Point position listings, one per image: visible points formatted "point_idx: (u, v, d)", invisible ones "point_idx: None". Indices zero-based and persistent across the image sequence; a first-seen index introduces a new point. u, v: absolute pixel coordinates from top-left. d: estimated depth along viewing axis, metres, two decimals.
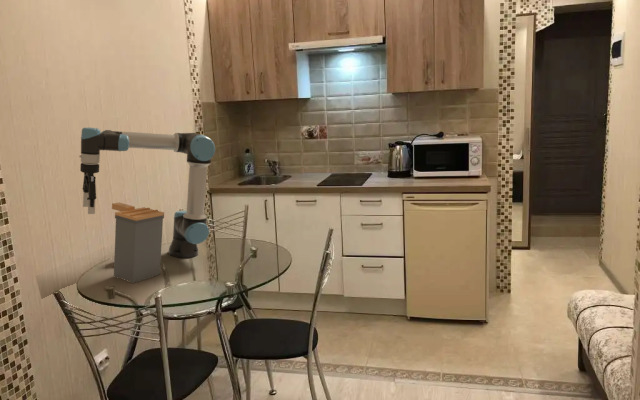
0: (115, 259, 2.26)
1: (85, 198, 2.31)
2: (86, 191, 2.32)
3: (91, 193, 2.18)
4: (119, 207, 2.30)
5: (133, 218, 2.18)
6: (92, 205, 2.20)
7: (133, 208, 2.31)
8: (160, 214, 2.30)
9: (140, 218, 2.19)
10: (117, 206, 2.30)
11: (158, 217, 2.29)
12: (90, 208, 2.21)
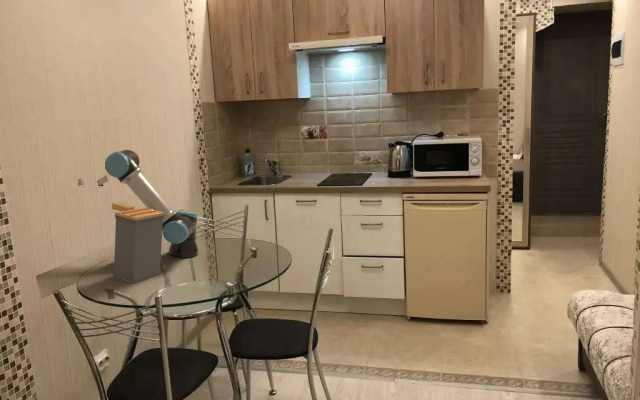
0: (115, 259, 2.26)
1: (101, 182, 2.45)
2: (98, 183, 2.47)
3: None
4: (119, 207, 2.30)
5: (133, 218, 2.18)
6: None
7: (133, 208, 2.31)
8: (160, 214, 2.30)
9: (140, 218, 2.19)
10: (117, 206, 2.30)
11: (158, 217, 2.29)
12: (78, 183, 2.32)
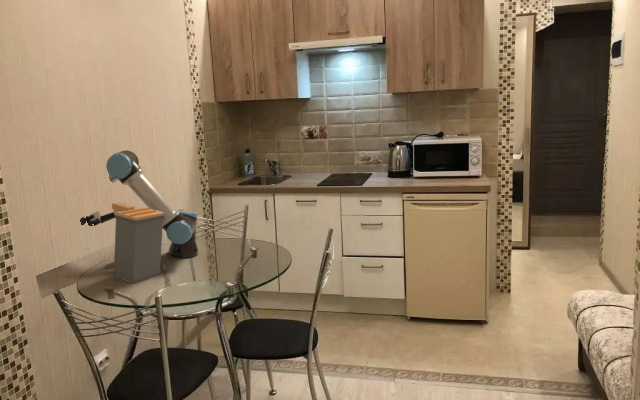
0: (115, 259, 2.26)
1: None
2: (114, 214, 2.44)
3: (82, 222, 2.31)
4: (119, 207, 2.30)
5: (133, 218, 2.18)
6: (90, 216, 2.29)
7: (133, 208, 2.31)
8: (160, 214, 2.30)
9: (140, 218, 2.19)
10: (117, 206, 2.30)
11: (158, 217, 2.29)
12: (95, 216, 2.30)
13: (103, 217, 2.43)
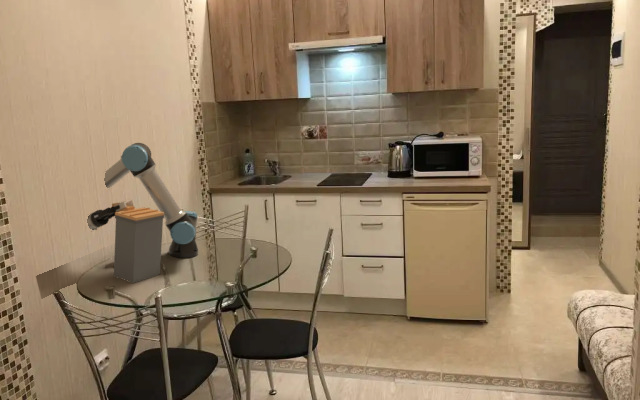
0: (115, 259, 2.26)
1: None
2: None
3: (106, 212, 2.29)
4: None
5: (133, 218, 2.18)
6: (116, 207, 2.28)
7: (133, 208, 2.31)
8: (160, 214, 2.30)
9: (140, 218, 2.19)
10: None
11: (158, 217, 2.29)
12: (121, 206, 2.28)
13: (114, 211, 2.37)
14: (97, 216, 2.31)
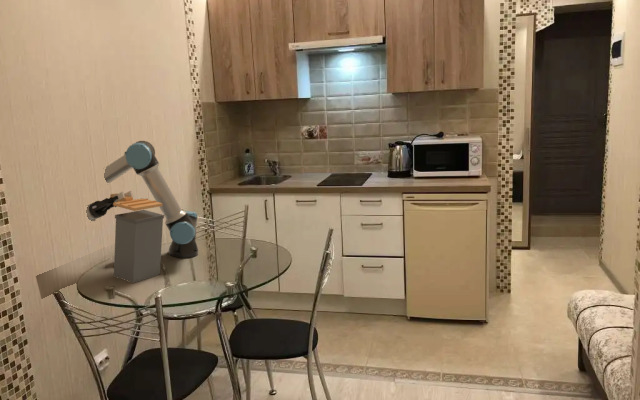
0: (115, 259, 2.26)
1: None
2: None
3: (104, 203, 2.28)
4: None
5: (131, 208, 2.17)
6: (114, 197, 2.28)
7: (131, 199, 2.30)
8: (158, 205, 2.29)
9: (138, 208, 2.19)
10: None
11: (158, 217, 2.29)
12: (119, 197, 2.28)
13: None
14: (95, 207, 2.31)
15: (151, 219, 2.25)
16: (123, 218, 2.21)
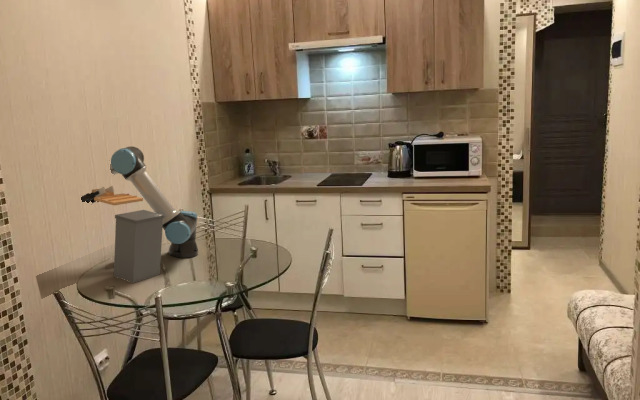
0: (115, 259, 2.26)
1: None
2: None
3: (85, 198, 2.33)
4: None
5: (111, 203, 2.22)
6: (96, 192, 2.33)
7: (112, 194, 2.35)
8: (139, 200, 2.34)
9: (118, 203, 2.24)
10: None
11: (158, 217, 2.29)
12: (100, 192, 2.33)
13: None
14: None
15: (151, 219, 2.25)
16: (123, 218, 2.21)
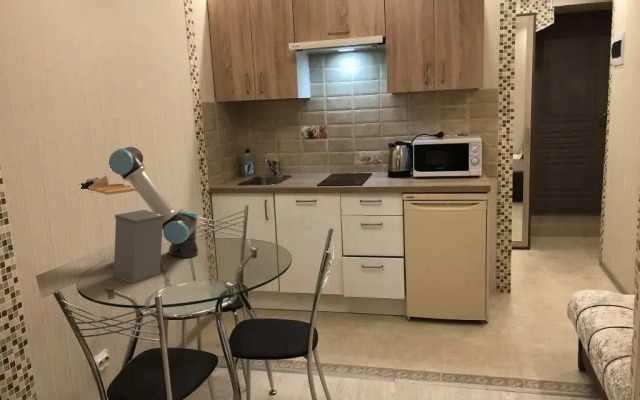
0: (115, 259, 2.26)
1: None
2: None
3: None
4: None
5: (105, 192, 2.24)
6: (90, 182, 2.34)
7: (107, 184, 2.36)
8: (133, 189, 2.36)
9: (112, 192, 2.25)
10: None
11: (158, 217, 2.29)
12: (94, 182, 2.34)
13: None
14: None
15: (151, 219, 2.25)
16: (123, 218, 2.21)
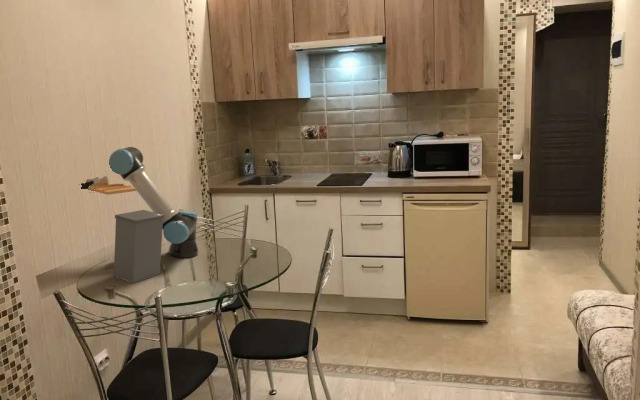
0: (115, 259, 2.26)
1: None
2: None
3: None
4: None
5: (105, 192, 2.24)
6: (90, 182, 2.34)
7: (107, 184, 2.36)
8: (133, 189, 2.36)
9: (112, 192, 2.25)
10: None
11: (158, 217, 2.29)
12: (94, 182, 2.34)
13: None
14: None
15: (151, 219, 2.25)
16: (123, 218, 2.21)
